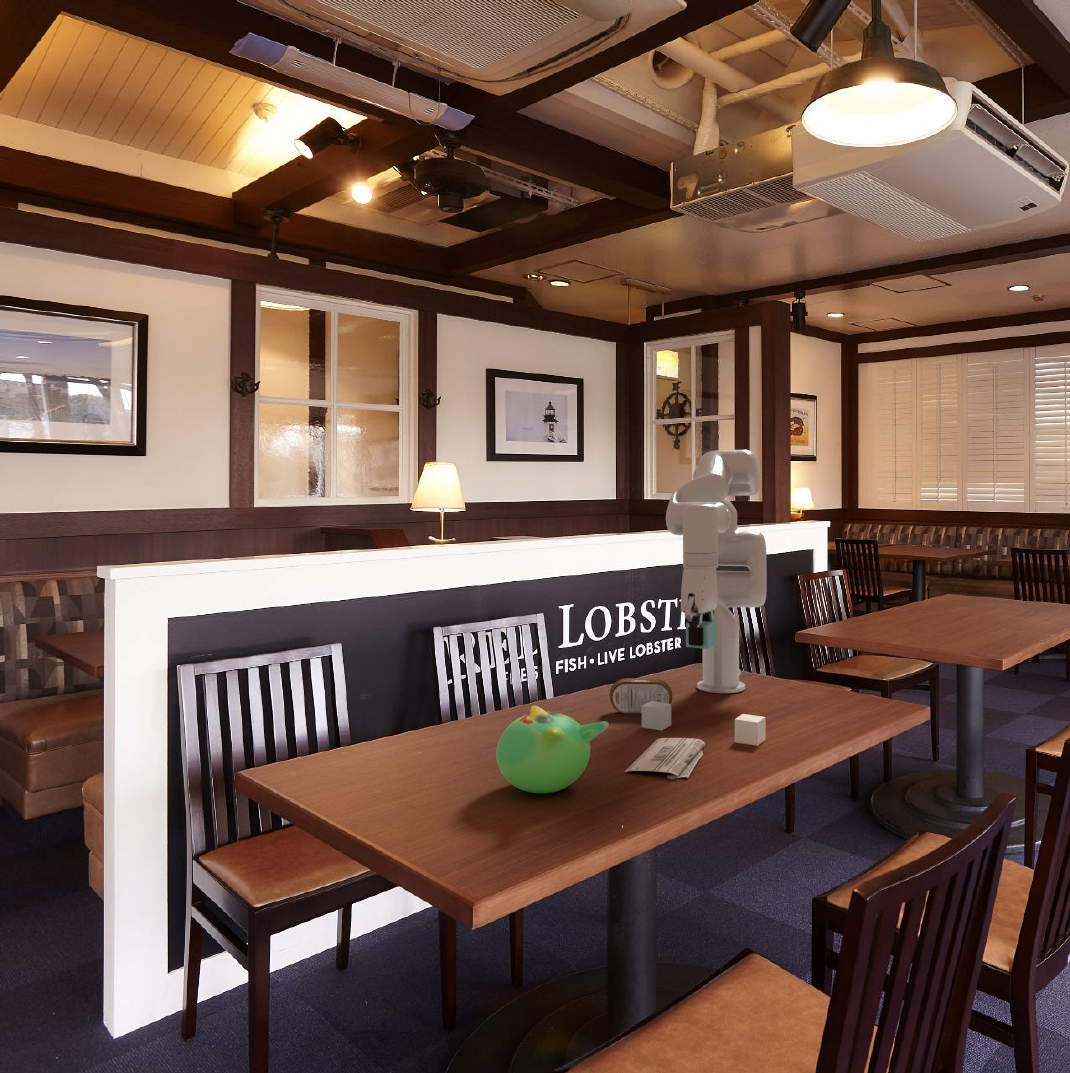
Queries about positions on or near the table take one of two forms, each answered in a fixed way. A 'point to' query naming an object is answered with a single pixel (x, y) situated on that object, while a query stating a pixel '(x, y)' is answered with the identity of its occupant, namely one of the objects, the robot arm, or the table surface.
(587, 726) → the toy bird
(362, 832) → the table surface
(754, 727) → the cream block
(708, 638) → the teal block
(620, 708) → the tin
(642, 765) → the newspaper
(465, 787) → the table surface
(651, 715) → the grey block
